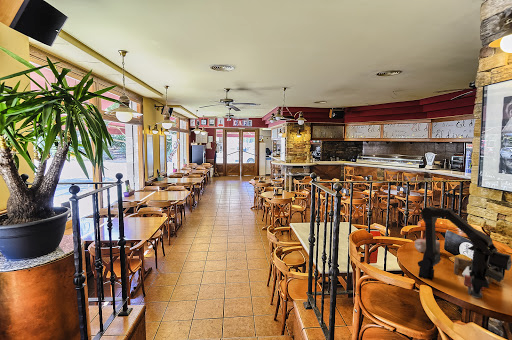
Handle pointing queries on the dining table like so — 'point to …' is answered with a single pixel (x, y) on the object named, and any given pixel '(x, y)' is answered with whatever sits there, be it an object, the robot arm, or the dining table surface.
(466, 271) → the grey pyramid roof
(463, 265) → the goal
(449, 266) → the dining table surface
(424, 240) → the food item
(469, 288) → the rod bushings
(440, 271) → the dining table surface
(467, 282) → the red block
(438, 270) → the dining table surface
